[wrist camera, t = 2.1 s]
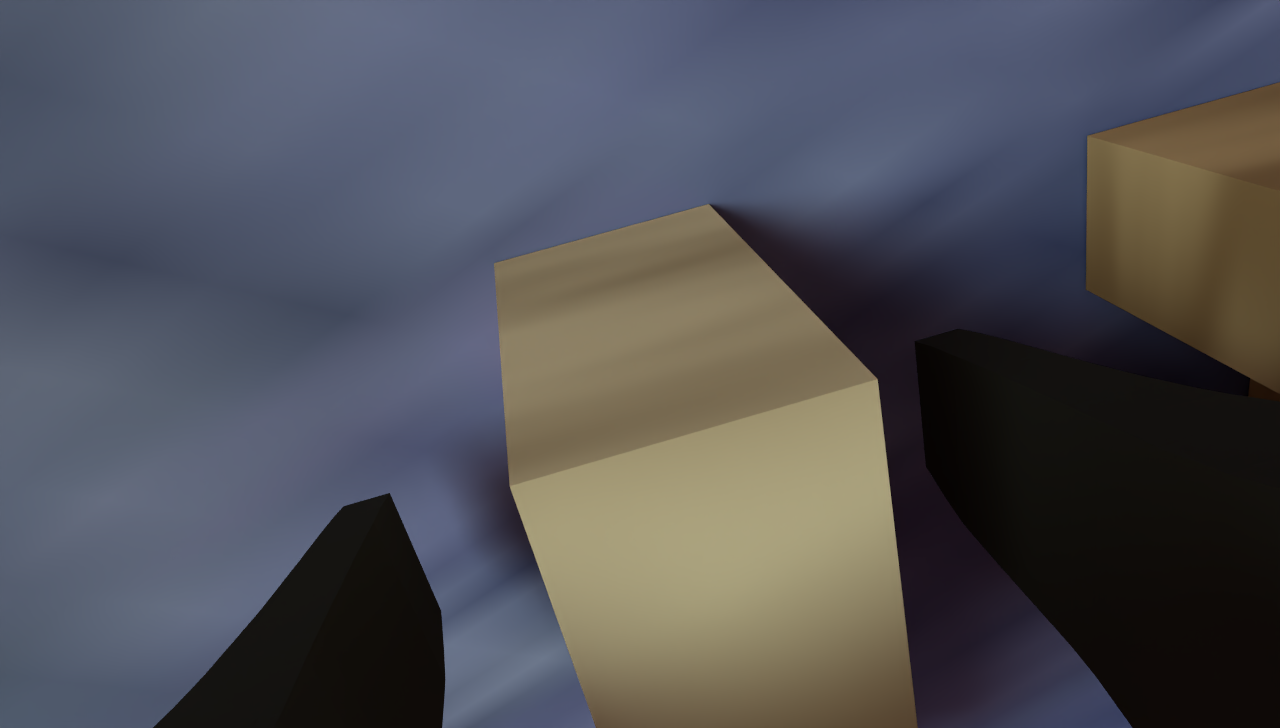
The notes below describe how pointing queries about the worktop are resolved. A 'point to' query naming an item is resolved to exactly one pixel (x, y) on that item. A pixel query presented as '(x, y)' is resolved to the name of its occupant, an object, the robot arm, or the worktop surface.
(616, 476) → the beige block
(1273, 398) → the bracket
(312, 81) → the worktop surface
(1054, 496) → the robot arm
